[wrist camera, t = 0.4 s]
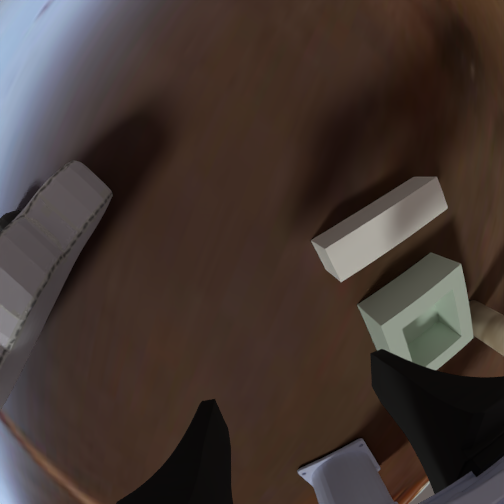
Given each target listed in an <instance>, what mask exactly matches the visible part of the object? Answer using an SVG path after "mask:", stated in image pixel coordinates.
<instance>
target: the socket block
mask: <svg viewBox="0 0 504 504" xmlns="http://www.w3.org/2000/svg"><path fill="white" fill-rule="evenodd" d="M357 306H358V308H359V310H360V312H361V314H362V317H363V319H364V321H365V324H366V326H367V328H368V330H369V333H370V335H371V337H372V340H373V342H374V344H375V347H376V349H377V351H378V350H380V349H384V350H386V351H388V352H391V353H393V354H395V355H397V356H399V357H402V358H404V359H406V360H408V361H411V362H413V363H416V364H418V365H421V366H424V367H427V368H430V369H433V370H437V369H438V368H440V367H441V366H442V365H443V364H445V363H446V362H447V361H448V360H449V359H450V358H452V357H453V356H454V355H455V354H456V353H457V352H459V351H460V350H461V349H462V348H463V347H464V346H465V345H466V344H467V343H469V342H470V341H471V340H472V339H473V329H472V321H471V314H470V307H469V301H468V295H467V290H466V285H465V280H464V275H463V270H462V266H461V263H458V262H455V261H453V260H450V259H447V258H445V257H442V256H439V255H437V254H434V253H429V254H428V255H427V256H425V257H424V258H423V259H421V260H420V261H419V262H417V263H416V264H415V265H413V266H412V267H411V268H409V269H408V270H407V271H405V272H404V273H402V274H401V275H400V276H398V277H397V278H395V279H394V280H393V281H391V282H390V283H388V284H387V285H386V286H384V287H383V288H381V289H380V290H378V291H377V292H375V293H374V294H372V295H371V296H369V297H368V298H366V299H365V300H363V301H362V302H360V303H359V304H357Z"/></svg>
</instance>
